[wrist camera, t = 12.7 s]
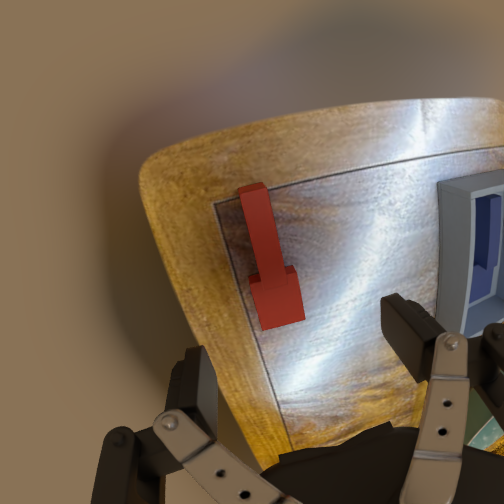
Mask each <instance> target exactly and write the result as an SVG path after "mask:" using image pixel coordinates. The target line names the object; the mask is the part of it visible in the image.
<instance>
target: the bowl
mask: <svg viewBox="0 0 504 504" xmlns="http://www.w3.org/2000/svg"><path fill="white" fill-rule="evenodd" d="M500 371H501V372H502V373H503V375H504V372H503V371H502V370H500ZM503 434H504V432H503V430H502V429H501V427H500V426H499V424H498V423H497V421H496V420H495V418H494V416H493V415H492V414H491V412H490V411H489V409H488V408H487V406H486V405H485V403H484V402H483V400H482V399H481V398H480V396H479V395H478V393H477V392H476V390H475V389H474V388H473V387H471V388H470V390H469V401H468V412H467V421H466V429H465V436H464V442H463V444H465V445H468V446H471V447H474V448H478V449H481V450H484V449H485V448H487V447H488V446H490V445H491V444H493V443H494V442H495V441H496V440H498V439H499V438H500V437H501V436H502V435H503Z"/></svg>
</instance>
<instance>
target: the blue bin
mask: <svg viewBox="0 0 504 504" xmlns="http://www.w3.org/2000/svg"><path fill="white" fill-rule="evenodd" d="M493 193H494V194H497V195H500V196H502V204H501V231H500V245H499V255H498V264H497V266H495V267H494V271H493V278H492V285H491V292H490V294H488V295H486V296H484V297H482V298H480V299H478V300H476V301H474V302H472V303H470V304H469V298H470V291H471V283H472V273H473V262H474V248H475V219H476V206H475V198H478V197H482V196H486V195H490V194H493ZM438 198H439V221H440V260H439V283H438V297H437V308H436V318H435V320H436V321H437V322H438V323H439V324H440V325H441V326H442V327H443V328H444V329H445V330H446V331H447V332H449V331H454V332H458V333H461V334H462V335H464V336H465V337H466V338H472V337H477V336H480V335H481V334H483V330H484V328H485V326H487V325H488V324H490V323H502V322H504V169H501V170H496V171H491V172H486V173H480V174H475V175H470V176H465V177H460V178H455V179H450V180H446V181H441V182H438Z"/></svg>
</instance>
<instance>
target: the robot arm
mask: <svg viewBox="0 0 504 504" xmlns="http://www.w3.org/2000/svg"><path fill="white" fill-rule="evenodd" d="M380 304H381V329H382V333H383V335H384V337H385V339H386V340H387V342H388V343H389V344H390V346H391V347H392V349H393V350H394V351H395V353H396V354H397V355H398V357H399V358H400V360H401V361H402V362H403V364H404V365H405V367H406V368H407V369H408V371H409V372H410V374H411V375H412V377H413V378H414V379H415V381H416V382H417V384H418V383H420V382H422V381H424V380H426V381H427V382H428V387H427V392H426V397H425V402H424V406H423V411H422V415H421V419H420V423H419V427H418V428H415V427H394V428H393V426H392V424H391V423H390V421H388V422H386V423H383V424H380V425H378V426H375V427H373V428H370V429H367V430H364V431H362V432H361V433H359V434H358V435H356V436H354V437H352V438H351V439H349V440H347V441H346V442H344V443H342V444H340V445H338V446H331V447H318V448H305V449H301V450H297V451H293V452H289V453H284V454H280V455H278V456H279V461H280V462H279V463H277V464H274V465H273V466H271V467H269V468H268V469H266V470H265V471H263V472H262V473H261V474H260V475H258V474H257V473H256V472H255V471H253V470H252V469H251V468H250V467H248V466H247V465H246V464H245V463H243V462H242V461H241V460H240V459H239V458H237V457H236V456H235V455H234V454H232V453H231V452H230V451H229V450H228V449H227V448H225V447H224V446H223V445H222V444H221V443H220V442H219V441H217V376H216V373H215V370H214V367H213V365H212V363H211V360H210V358H209V356H208V353H207V351H206V349H205V347H204V346H203V345H201V346H196V347H191V348H187V349H186V353H185V359H184V360H182V361H178V362H177V363H176V365H175V366H174V368H173V369H172V373H171V380H170V383H169V388H168V394H167V399H166V406H165V411H164V412H162V413H161V414H159V415H158V416H157V417H156V418H155V420H154V422H153V426H152V427H149V428H147V429H144V430H141V431H138V432H135V433H134V432H133V431H132V430H131V429H130V428H128V427H125V426H120V427H116V428H114V429H112V430H111V431H109V432H108V434H107V435H106V436H105V438H104V441H103V446H102V450H101V454H100V459H99V463H98V468H97V473H96V477H95V483H94V488H93V493H92V499H91V504H165V482H166V475H167V474H170V473H173V472H176V471H178V470H181V469H184V468H185V469H186V471H187V472H188V473H189V474H190V475H191V476H192V477H193V478H194V479H195V480H196V482H197V483H198V484H199V485H200V486H201V487H202V488H203V489H204V490H205V491H206V492H207V493H208V494H209V495H210V496H211V497H212V498H213V499H214V500H215V501H216V502H217V503H218V504H504V456H501V455H498V454H494V453H491V452H487V451H484V450H481V449H478V448H474V447H471V446H468V445H465V444H463V442H464V436H465V429H466V421H467V412H468V401H469V387H473V388H474V389H475V390H476V392H477V393H478V395H479V396H480V398H481V399H482V400H483V402H484V403H485V405H486V406H487V408H488V409H489V411H490V412H491V414H492V415H493V416H494V418H495V420H496V421H497V423H498V424H499V426H500V427H501V429H502V430H503V432H504V375H503V373H502V372H501V371H500V370H502V371H503V372H504V324H502V323H490V324H488V325H487V326H485V328H484V330H483V334H482V336H477V337H472V338H466V337H465V336H464V335H462V334H461V333H458V332H454V331H449V332H447V331H446V330H445V329H444V328H443V327H442V326H441V325H440V324H439V323H438V322H437V321H436V320H435V319H434V318H433V317H432V316H430V314H429V313H428V312H427V311H425V309H424V308H423V307H422V306H421V305H420V304H419V303H416V302H414V301H412V300H406V301H405V300H404V299H403V298H402V297H401V296H400V295H399V294H398V293H394V294H391V295H388V296H385V297H382V298H381V301H380Z"/></svg>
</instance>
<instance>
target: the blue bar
mask: <svg viewBox="0 0 504 504" xmlns="http://www.w3.org/2000/svg"><path fill="white" fill-rule="evenodd" d="M501 204H502V196H500V195H497V194H494V193H493V194H490V195H486V196H482V197H478V198H475V206H476V219H475V248H474V262H473V273H472V283H471V291H470V298H469V304H470V303H472V302H474V301H476V300H478V299H480V298H482V297H484V296H486V295H488V294H490V292H491V285H492V278H493V271H494V267H495V266H497V264H498V255H499V245H500V231H501Z"/></svg>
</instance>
